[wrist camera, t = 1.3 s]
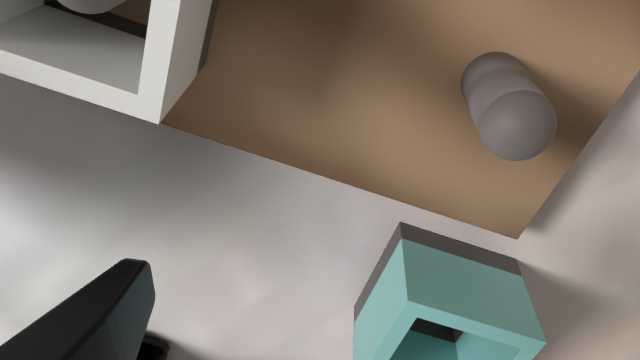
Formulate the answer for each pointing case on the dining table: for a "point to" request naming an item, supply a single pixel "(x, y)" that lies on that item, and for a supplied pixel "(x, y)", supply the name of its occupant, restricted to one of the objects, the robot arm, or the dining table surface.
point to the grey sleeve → (108, 52)
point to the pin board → (413, 93)
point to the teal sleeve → (444, 303)
